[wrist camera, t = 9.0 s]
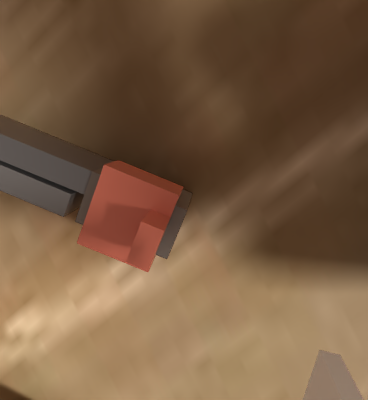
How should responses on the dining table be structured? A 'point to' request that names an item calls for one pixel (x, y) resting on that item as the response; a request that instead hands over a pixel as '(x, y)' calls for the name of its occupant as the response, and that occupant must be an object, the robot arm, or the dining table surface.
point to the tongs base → (70, 169)
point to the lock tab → (129, 214)
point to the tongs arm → (38, 190)
